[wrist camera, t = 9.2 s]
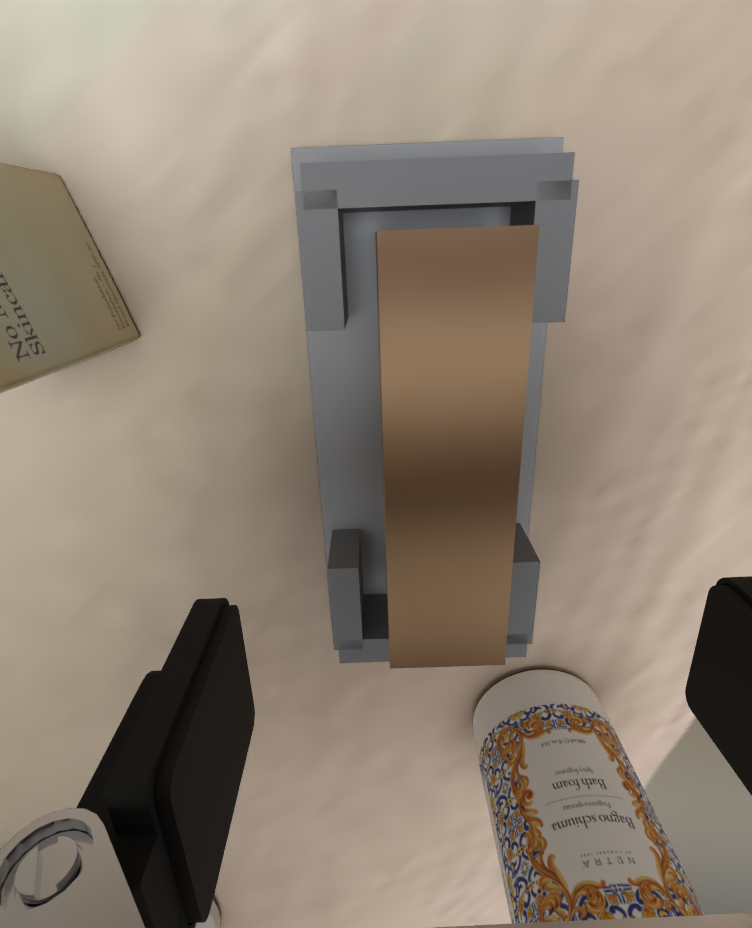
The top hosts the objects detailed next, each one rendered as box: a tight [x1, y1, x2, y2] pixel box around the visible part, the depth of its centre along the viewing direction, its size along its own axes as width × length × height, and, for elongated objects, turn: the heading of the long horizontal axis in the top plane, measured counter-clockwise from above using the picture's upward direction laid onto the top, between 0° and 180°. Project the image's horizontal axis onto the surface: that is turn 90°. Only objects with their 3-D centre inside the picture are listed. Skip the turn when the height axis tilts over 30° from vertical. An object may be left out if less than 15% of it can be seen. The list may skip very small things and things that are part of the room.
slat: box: [375, 225, 540, 668], centre depth 19 cm, size 14×4×6 cm, turn 2°
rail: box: [291, 137, 579, 663], centre depth 20 cm, size 20×9×4 cm, turn 2°
